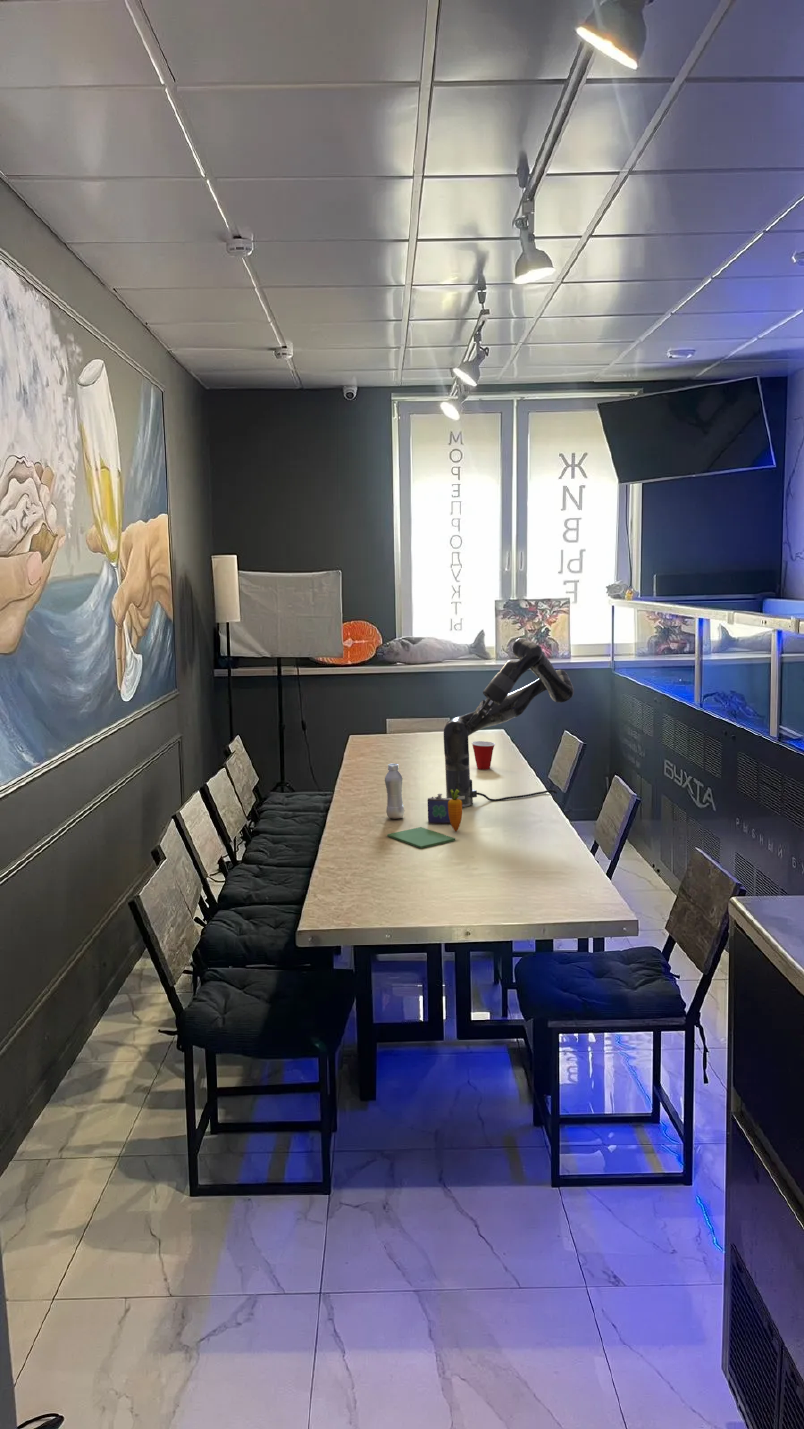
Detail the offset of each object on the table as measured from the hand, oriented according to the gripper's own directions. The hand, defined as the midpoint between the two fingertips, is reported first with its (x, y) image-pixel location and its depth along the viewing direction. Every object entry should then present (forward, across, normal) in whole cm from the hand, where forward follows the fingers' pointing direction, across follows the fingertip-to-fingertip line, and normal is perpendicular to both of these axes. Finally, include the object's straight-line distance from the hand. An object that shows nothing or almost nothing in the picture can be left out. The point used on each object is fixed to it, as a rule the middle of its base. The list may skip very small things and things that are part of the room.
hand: (470, 725), depth 330 cm
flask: (+33, +14, -14) cm, 38 cm away
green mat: (+41, -4, -9) cm, 42 cm away
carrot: (+32, +2, -18) cm, 37 cm away
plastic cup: (0, +105, -27) cm, 108 cm away
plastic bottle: (+41, +25, -1) cm, 48 cm away
